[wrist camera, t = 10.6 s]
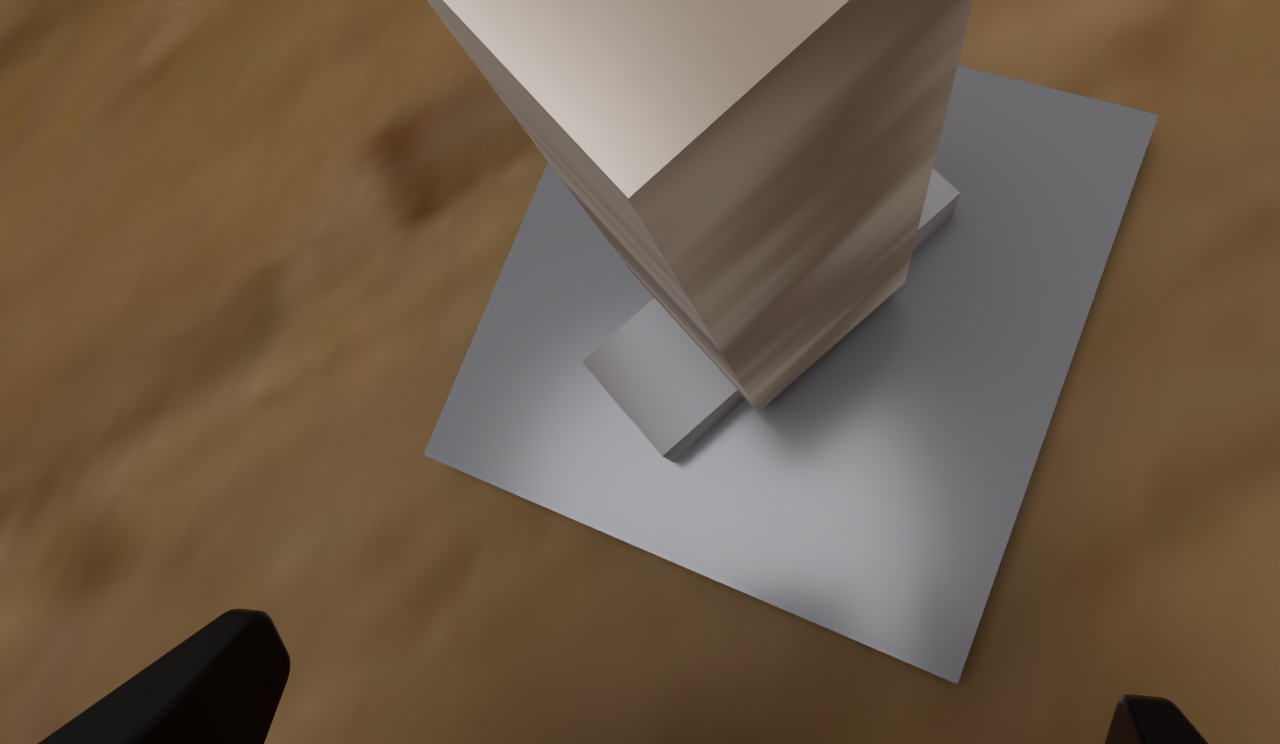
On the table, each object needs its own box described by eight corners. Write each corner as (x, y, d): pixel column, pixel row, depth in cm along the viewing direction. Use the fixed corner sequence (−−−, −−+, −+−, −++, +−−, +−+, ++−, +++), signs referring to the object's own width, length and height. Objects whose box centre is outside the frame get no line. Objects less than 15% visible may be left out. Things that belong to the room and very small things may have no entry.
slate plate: (949, 675, 21) (957, 684, 20) (447, 460, 25) (423, 455, 24) (1138, 142, 23) (1158, 114, 21) (635, 13, 26) (623, -17, 25)
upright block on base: (692, 483, 22) (435, 372, 8) (581, 354, 23) (194, 62, 9) (973, 236, 22) (1211, -326, 8) (846, 117, 23) (854, -551, 9)
